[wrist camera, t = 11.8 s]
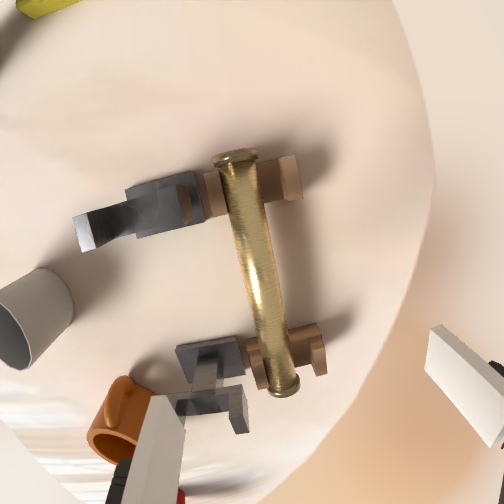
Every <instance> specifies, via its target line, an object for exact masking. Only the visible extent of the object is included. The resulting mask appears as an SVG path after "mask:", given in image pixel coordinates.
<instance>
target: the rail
mask: <svg viewBox="0 0 504 504" xmlns="http://www.w3.org/2000/svg"><path fill="white" fill-rule="evenodd" d="M257 158H258V157H257V152H256V148H244V149H238V150H233V151H228V152H225V153H221V154H218V155H216V156H215V157H213V158H212V159H213V163H214V167H215V168H216V167H218V169H219V173H220V178H221V182H222V187H223V192H224V196H225V200H226V205H227V209H228V214H229V218H230V223H231V227H232V232H233V236H234V240H235V245H236V249H237V253H238V258H239V262H240V266H241V271H242V275H243V279H244V283H245V288H246V292H247V296H248V300H249V304H250V309H251V313H252V317H253V321H254V325H255V330H256V334H257V338H258V342H259V346H260V350H261V354H262V358H263V362H264V366H265V370H266V374H267V378H268V382H269V388H267V390H268V392H269V394H270V395H272V396H274V397H277V398H285V397H289V396H291V395H293V394H295V393H296V392H297V391H298V390H299V388H300V379H299V376H298V375H297V374H296V372H295V366H294V360H293V355H292V349H291V343H290V338H289V332H288V327H287V321H286V316H285V310H284V305H283V300H282V294H281V289H280V284H279V279H278V273H277V268H276V263H275V258H274V253H273V248H272V243H271V238H270V233H269V228H268V223H267V218H266V213H265V208H264V203H263V198H262V193H261V189H260V184H259V179H258V174H257V170H256V165H255V160H254V159H257Z"/></svg>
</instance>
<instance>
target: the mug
mask: <svg viewBox="0 0 504 504" xmlns="http://www.w3.org/2000/svg"><path fill="white" fill-rule="evenodd" d="M151 396H157V395H156V394H154V393H152V392H151V391H149V390H148V389H146V388H144V387H141V386H139V385H135V384H134V382H133V381H132V379H131V378H130V377H128V376H126V375H124V376H120V377H118V378H117V379H116V380H115V381H114V382H113V384H112V385H111V387H110V389H109V392H108V394H107V396H106V398H105V400H104V402H103V404H102V406H101V407H100V409H99V411H98V413H97V415H96V417H95V419H94V421H93V423H92V425H91V427H90V429H89V431H88V433H87V441H88V443H89V445H90V447H91V448H92V449H93V450H94V451H95V452H96V453H97V454H98V455H99V456H101V457H102V458H103V459H105V460H107V461H108V462H110V463H112V464H114V465H118V464H119V462H120V461H121V460H122V459H123V458H130V459H133V456H134V452H135V449H136V445H137V442H138V439H139V435H140V432H141V428H142V425H143V422H144V419H145V415H146V412H147V409H148V406H149V402H150V399H151Z"/></svg>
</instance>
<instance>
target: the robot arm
mask: <svg viewBox="0 0 504 504" xmlns="http://www.w3.org/2000/svg"><path fill="white" fill-rule="evenodd" d="M425 371H426V372H427V373H428V374H429V375H430V377H431V378H432V379H433V380H434V381H435V382H436V383H437V385H438V386H439V387H440V388H441V389H442V391H443V392H444V393H445V394H446V395H447V396H448V398H449V399H450V400H451V401H452V402H453V403H454V405H455V406H456V407H457V408H458V409H459V411H460V412H461V413H462V414H463V415H464V417H465V418H466V419H467V420H468V421H469V423H470V424H471V425H472V426H473V428H474V429H475V430H476V431H477V433H478V434H479V435H480V436H481V438H482V439H483V440H484V442H485V443H486V444H487V445H488V447H489V448H491V447H492V446H493V445H494V444H496V443H497V442H498V441H500V440H501V439H502V437H503V436H504V367H503V366H502V365H501V364H499V363H497V362H494V361H491V362H489V363H487V362H486V361H484V360H483V359H482V358H481V357H480V356H479V355H478V354H476V353H475V352H474V351H473V350H472V349H470V348H469V347H468V346H467V345H466V344H465V343H463V342H462V341H461V340H460V339H459V338H458V337H456V336H455V335H454V334H453V333H451V332H450V331H449V330H448V329H447V328H445V327H444V326H443V325H442V324H441V325H439V326H436V327H434V328H432V329H430V336H429V344H428V351H427V357H426V363H425ZM185 432H186V430H185V428H184V427H183V425H182V423H181V421H180V420H179V418H178V416H177V414H176V413H175V411H174V409H173V407H172V405H171V403H170V402H169V400H168V398H167V396H166V395H159V396H151V399H150V402H149V406H148V409H147V412H146V415H145V419H144V422H143V425H142V428H141V432H140V435H139V439H138V442H137V445H136V449H135V452H134V456H133V459H130V458H123V459H122V460H121V461H120V462H119V464H118V465H117V466H116V469H115V472H114V475H113V476H114V478H113V479H112V482H111V485H110V489H109V492H108V495H107V499H106V502H105V504H176V502H177V493H178V485H179V477H180V469H181V461H182V454H183V446H184V439H185ZM503 448H504V443H503V444H502V447H501V449H503ZM498 504H504V476H503V482H502V488H501V493H500V498H499V503H498Z"/></svg>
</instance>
